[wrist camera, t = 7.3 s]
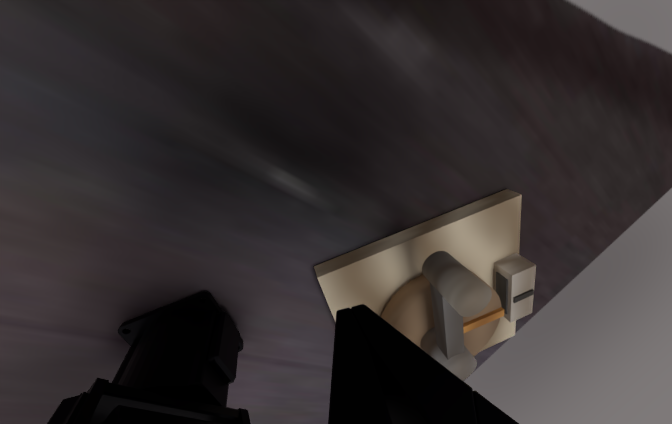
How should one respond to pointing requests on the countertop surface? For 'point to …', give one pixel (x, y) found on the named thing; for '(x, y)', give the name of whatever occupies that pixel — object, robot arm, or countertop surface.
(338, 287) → the stand
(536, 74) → the countertop surface
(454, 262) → the crank handle
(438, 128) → the countertop surface
